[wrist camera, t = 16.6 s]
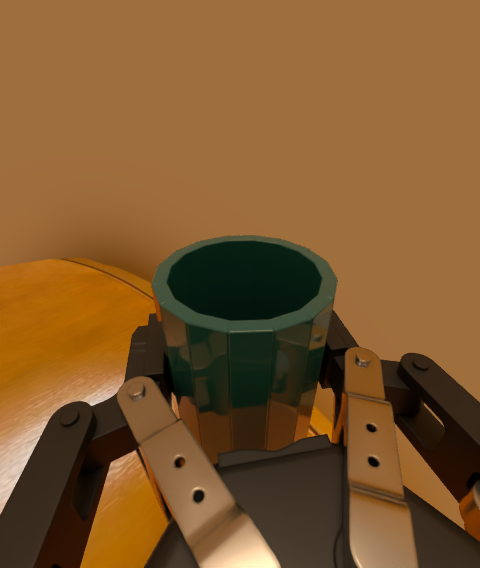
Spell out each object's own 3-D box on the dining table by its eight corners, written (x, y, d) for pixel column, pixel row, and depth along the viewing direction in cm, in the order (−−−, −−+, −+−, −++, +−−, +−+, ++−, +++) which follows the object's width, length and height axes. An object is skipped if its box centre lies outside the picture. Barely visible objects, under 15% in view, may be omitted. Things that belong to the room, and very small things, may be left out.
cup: (309, 419, 18) (343, 247, 12) (286, 540, 13) (324, 355, 7) (214, 390, 20) (202, 227, 14) (163, 488, 15) (110, 304, 9)
